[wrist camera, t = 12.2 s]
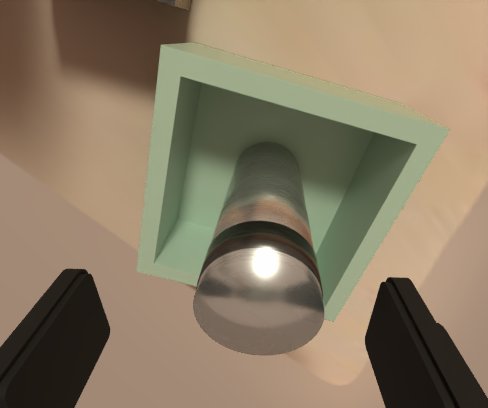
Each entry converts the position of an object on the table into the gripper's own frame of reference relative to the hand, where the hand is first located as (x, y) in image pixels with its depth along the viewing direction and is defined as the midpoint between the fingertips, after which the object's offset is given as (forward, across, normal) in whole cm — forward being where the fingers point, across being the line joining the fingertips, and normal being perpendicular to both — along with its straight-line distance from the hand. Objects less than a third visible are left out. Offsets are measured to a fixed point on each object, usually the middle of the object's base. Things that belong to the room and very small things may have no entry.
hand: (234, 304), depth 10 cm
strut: (+12, -1, +1) cm, 12 cm away
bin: (+13, -1, +1) cm, 13 cm away
